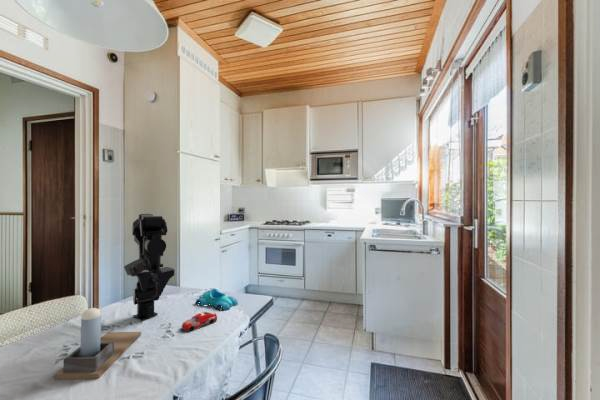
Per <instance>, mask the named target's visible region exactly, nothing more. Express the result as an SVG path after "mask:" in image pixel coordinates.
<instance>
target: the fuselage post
mask: <svg viewBox="0 0 600 400" xmlns="http://www.w3.org/2000/svg"><path fill="white" fill-rule="evenodd" d="M80 318H81V319H80V346H81V348H80V357H95V356H96V355H97V354H98V353H99V352H100V341H101V336H102V335H101V333H102V312H101V309H99V308H98V307H97V308H96V307H91V308H88V309H86V310H85V311H84V312H83V313H82V315H81V317H80Z"/></svg>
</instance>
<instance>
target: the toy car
mask: <svg viewBox="0 0 600 400" xmlns="http://www.w3.org/2000/svg"><path fill="white" fill-rule="evenodd" d="M238 301H239V300H238V299H237V298H235V297H233V296H226V293H223V292H222V291H220V290H219V289H217V288H211V290H207V291H205V292H203V293H202V294H200V295H199V296H198V298H197V299H196V301H195V304H196V303H197V304H196V306H201V307H205V306H204V305H209V304H210V305H209V306H213V305H215V306H214V307H215V309H216V308H217V309H220V310H219V311H222V310H223V311H224V310H225V311H229V309H230V310H231V307H232V306H237V305H239V302H238ZM198 302H200V303H198ZM198 304H199V305H198ZM200 304H201V305H200ZM219 306H222V307H219ZM218 307H219V308H218ZM221 309H222V310H221Z"/></svg>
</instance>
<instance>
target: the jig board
mask: <svg viewBox="0 0 600 400" xmlns="http://www.w3.org/2000/svg"><path fill="white" fill-rule="evenodd" d="M101 336H102V335H101ZM141 336H142V331H118V332H117V331H113V332H110V331H109V332H106V333H104V334H103V336H102V337H101V341H100V352H99V353H98V354H97V355H96V356H95V357H80V348H81V345H80V346H79V347H78V348H76V349H75V350H74V351H72V352H71V353H70V354H68V355H67V356H65V358H63V367H62V368H61V369H60V370H58V371H57V372H55V374H54V375H53V381H56V380H59V381H61V380H83V379H84V380H85V379H86V380H87V379H100V378H101V377H102V376H103V375H104V374H105V373H106V372H107V371H108V370H109V368H111V367H112V365H114V363H115V362H117V360H119V358H120V357H122V355H123V354H125V352H127V350H129V348H130V347H131V346H132V345H133V344H134V343H135V342H136V341H137V340H138V339H139V338H140V337H141Z"/></svg>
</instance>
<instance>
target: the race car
mask: <svg viewBox="0 0 600 400" xmlns="http://www.w3.org/2000/svg"><path fill="white" fill-rule="evenodd" d="M217 321H218V316H217V314H216V312H214V311H204V312H199V313H197V314H195V315H193V316H191V318H189V319H187V320H185V321H183V322H182V325H181V330H183V331H184V332H194V330H197V329H200V328H203V327H205V326H207V325H212V324H214V323H216V322H217Z"/></svg>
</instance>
